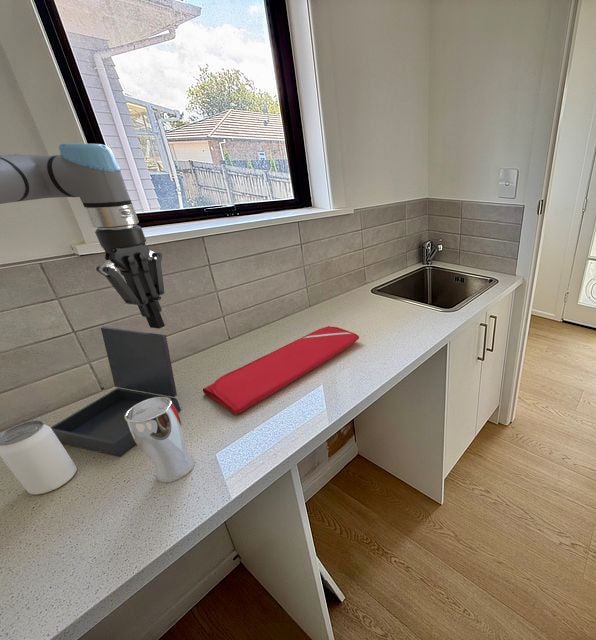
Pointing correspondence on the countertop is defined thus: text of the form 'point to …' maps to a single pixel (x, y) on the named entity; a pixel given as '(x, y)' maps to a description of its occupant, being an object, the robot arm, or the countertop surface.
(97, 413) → the tray
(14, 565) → the countertop surface
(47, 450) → the can
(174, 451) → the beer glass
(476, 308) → the countertop surface
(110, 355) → the lid
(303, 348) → the dish drying mat
